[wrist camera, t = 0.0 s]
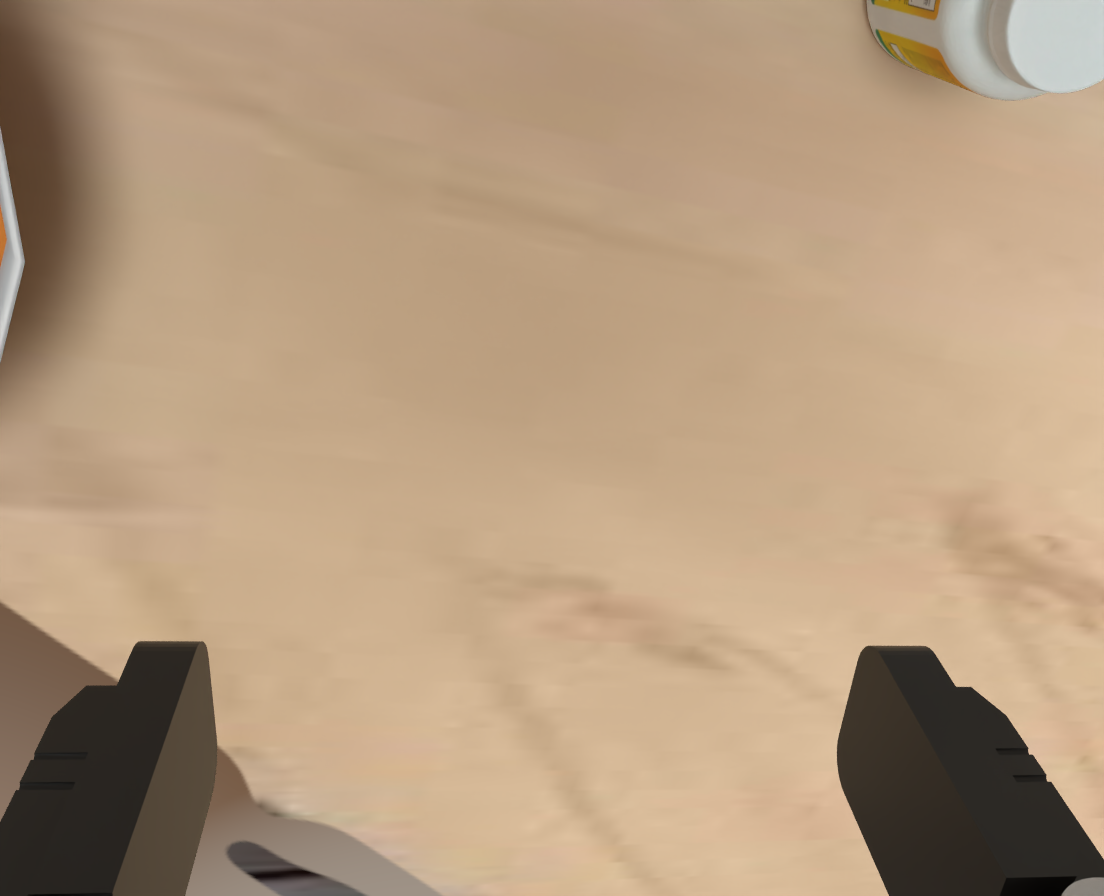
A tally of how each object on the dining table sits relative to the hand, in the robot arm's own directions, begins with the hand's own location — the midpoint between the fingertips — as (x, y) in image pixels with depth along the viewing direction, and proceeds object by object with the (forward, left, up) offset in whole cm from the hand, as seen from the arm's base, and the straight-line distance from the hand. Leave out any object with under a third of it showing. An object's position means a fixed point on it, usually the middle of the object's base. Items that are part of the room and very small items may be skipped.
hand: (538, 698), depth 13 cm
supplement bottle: (-7, +16, -30) cm, 34 cm away
